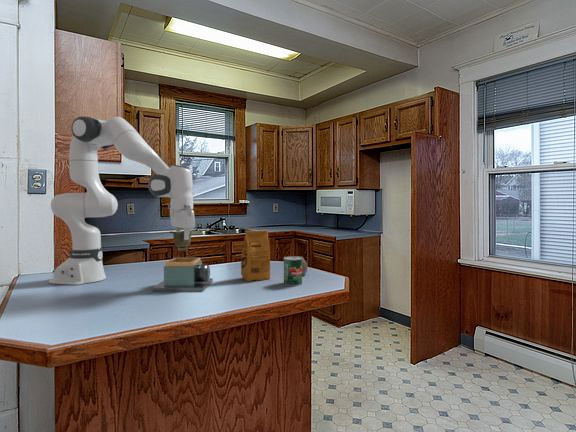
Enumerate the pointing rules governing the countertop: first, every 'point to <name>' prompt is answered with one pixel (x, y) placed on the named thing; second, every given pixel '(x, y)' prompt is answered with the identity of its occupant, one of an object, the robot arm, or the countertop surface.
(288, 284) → the canned tomato
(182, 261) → the motor mount
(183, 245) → the cup
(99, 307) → the countertop surface
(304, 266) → the vase
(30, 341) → the countertop surface
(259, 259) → the coffee package
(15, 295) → the countertop surface
